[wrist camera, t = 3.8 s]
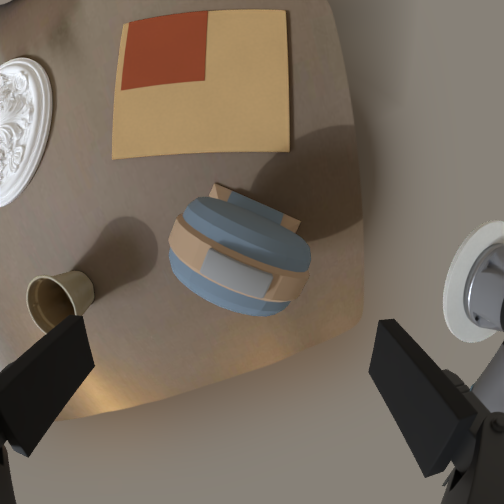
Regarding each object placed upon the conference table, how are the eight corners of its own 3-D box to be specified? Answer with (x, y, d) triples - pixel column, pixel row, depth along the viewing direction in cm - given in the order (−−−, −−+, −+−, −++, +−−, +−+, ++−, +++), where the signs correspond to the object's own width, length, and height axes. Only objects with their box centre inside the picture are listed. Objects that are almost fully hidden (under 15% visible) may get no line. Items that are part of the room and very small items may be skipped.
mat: (285, 12, 33) (285, 9, 32) (289, 152, 38) (289, 151, 37) (124, 25, 33) (123, 23, 32) (113, 159, 38) (111, 159, 37)
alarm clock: (180, 247, 40) (132, 293, 23) (207, 180, 38) (172, 178, 21) (276, 288, 42) (291, 358, 24) (307, 224, 40) (347, 256, 22)
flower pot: (60, 250, 40) (28, 264, 32) (108, 272, 41) (80, 292, 33) (54, 301, 42) (25, 322, 34) (99, 324, 43) (74, 350, 35)
